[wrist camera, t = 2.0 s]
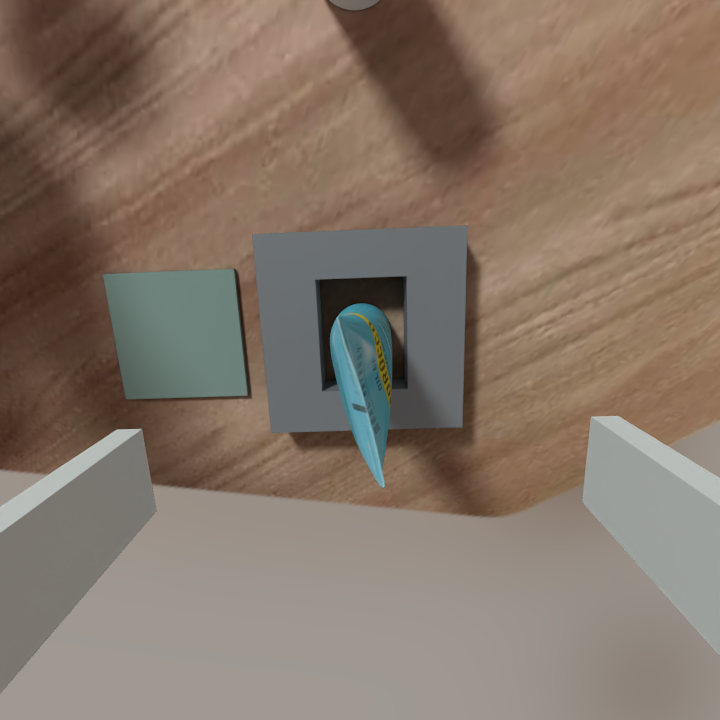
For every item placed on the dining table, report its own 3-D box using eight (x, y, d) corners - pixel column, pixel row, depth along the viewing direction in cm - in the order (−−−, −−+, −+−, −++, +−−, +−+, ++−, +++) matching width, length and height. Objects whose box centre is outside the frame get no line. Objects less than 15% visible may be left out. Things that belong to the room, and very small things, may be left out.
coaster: (128, 397, 37) (125, 399, 36) (105, 273, 34) (102, 274, 34) (248, 394, 36) (247, 395, 36) (235, 269, 34) (233, 269, 33)
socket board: (278, 419, 37) (271, 432, 34) (262, 236, 33) (252, 234, 30) (454, 414, 36) (462, 427, 34) (458, 228, 33) (467, 225, 30)
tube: (401, 360, 35) (441, 471, 17) (349, 378, 36) (332, 505, 17) (374, 279, 34) (384, 301, 15) (320, 298, 34) (265, 343, 16)
